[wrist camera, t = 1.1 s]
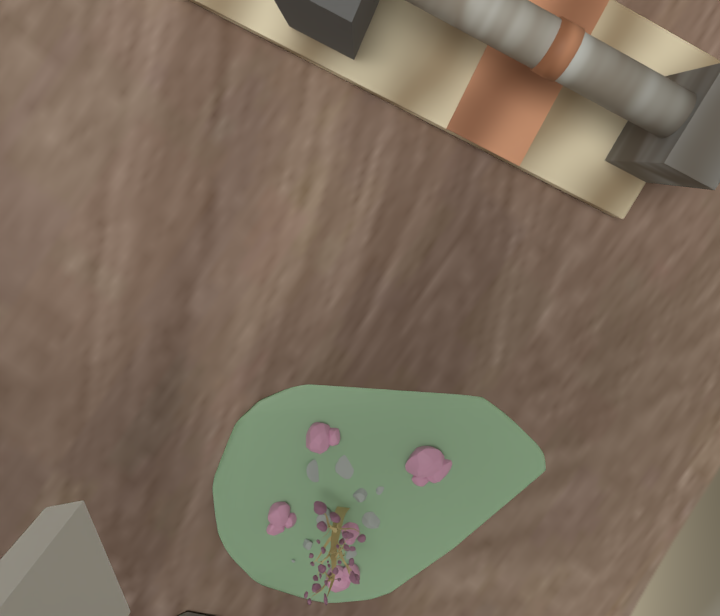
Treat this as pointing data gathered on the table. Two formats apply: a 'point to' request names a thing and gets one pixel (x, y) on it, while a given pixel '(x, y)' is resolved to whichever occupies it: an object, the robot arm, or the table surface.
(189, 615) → the tankard
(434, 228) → the table surface
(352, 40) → the collar
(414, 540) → the plant
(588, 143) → the grey sliding block rail
